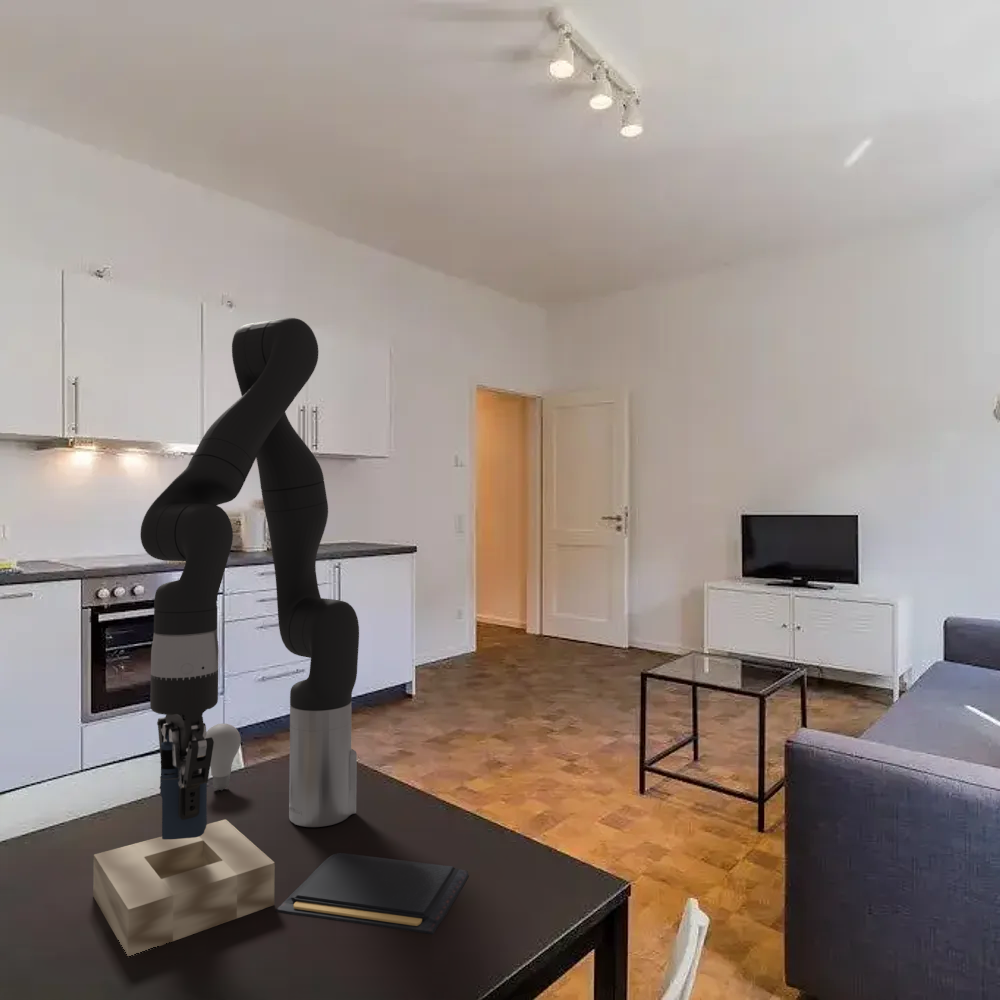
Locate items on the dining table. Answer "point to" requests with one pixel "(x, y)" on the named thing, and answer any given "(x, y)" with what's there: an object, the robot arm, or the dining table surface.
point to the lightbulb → (223, 753)
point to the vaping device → (170, 796)
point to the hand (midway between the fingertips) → (183, 810)
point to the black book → (378, 892)
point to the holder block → (181, 885)
